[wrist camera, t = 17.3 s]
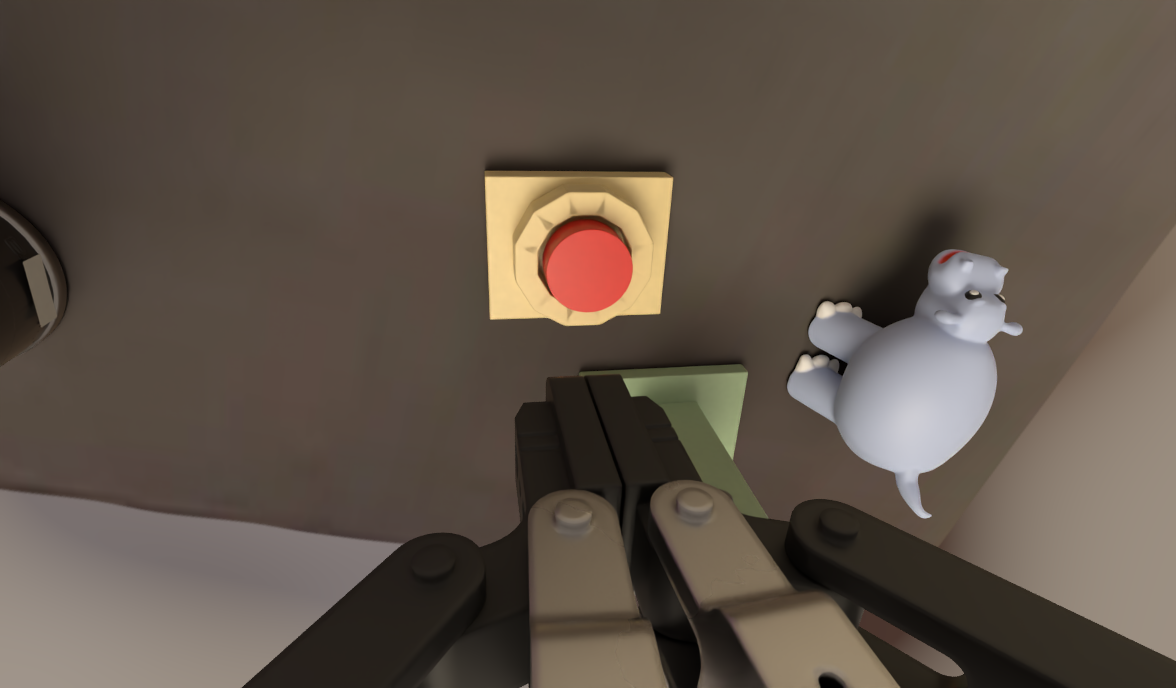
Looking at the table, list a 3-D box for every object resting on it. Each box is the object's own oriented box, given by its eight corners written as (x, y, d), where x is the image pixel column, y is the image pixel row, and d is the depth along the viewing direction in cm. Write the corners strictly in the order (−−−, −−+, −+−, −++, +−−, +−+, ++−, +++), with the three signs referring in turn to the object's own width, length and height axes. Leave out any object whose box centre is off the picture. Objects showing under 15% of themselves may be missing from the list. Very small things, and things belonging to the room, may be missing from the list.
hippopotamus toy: (992, 246, 40) (1132, 301, 31) (895, 435, 46) (990, 524, 37) (851, 217, 37) (962, 268, 29) (768, 422, 43) (840, 514, 35)
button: (542, 299, 33) (546, 314, 31) (542, 218, 31) (546, 229, 29) (621, 297, 33) (630, 311, 32) (627, 218, 31) (635, 228, 30)
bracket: (575, 483, 43) (611, 642, 31) (579, 371, 39) (622, 507, 27) (723, 471, 44) (807, 618, 33) (741, 363, 40) (845, 488, 29)
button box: (489, 308, 36) (490, 335, 33) (484, 170, 32) (485, 184, 29) (653, 304, 37) (669, 328, 34) (665, 171, 34) (685, 185, 31)
